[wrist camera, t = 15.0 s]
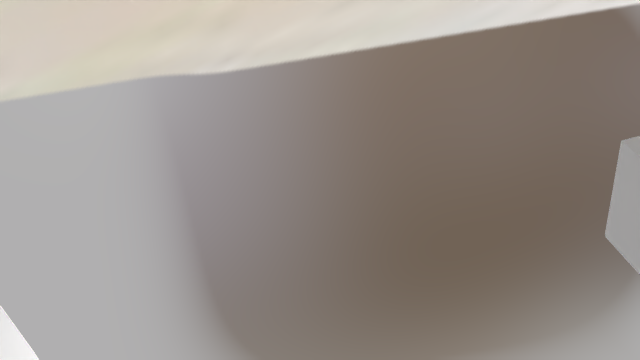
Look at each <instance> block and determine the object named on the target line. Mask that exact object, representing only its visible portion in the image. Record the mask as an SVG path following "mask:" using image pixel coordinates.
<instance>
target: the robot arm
mask: <svg viewBox="0 0 640 360" xmlns="http://www.w3.org/2000/svg"><path fill="white" fill-rule="evenodd" d="M605 237H606V238H607V239H608V240H609V241H610V242H611V243H612V244H613V245H614V246H615V248H616V249H617V250H618V251H619V252H620V253H621V254H622V256H623V257H624V258H625V259H626V260H627V261H628V262H629V263H630V264H631V265H632V266H633V268H634V269H635V270H636V271H637V272H638V273H639V274H640V136H638V137H634V138H630V139H626V140H622V141H621V146H620V151H619V157H618V163H617V169H616V174H615V181H614V186H613V192H612V198H611V203H610V210H609V215H608V221H607V227H606V232H605ZM0 360H39V359H38V357H37V356H36V354H35V353H34V351H33V350H32V349H31V347H30V346H29V345H28V343H27V342H26V340H25V339H24V338H23V336H22V335H21V334H20V332H19V330H18V329H17V328H16V326H15V325H14V323H13V322H12V321H11V320H10V318H9V316H8V315H7V314H6V312H5V311H4V310H3V308H2V307H1V305H0Z"/></svg>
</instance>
